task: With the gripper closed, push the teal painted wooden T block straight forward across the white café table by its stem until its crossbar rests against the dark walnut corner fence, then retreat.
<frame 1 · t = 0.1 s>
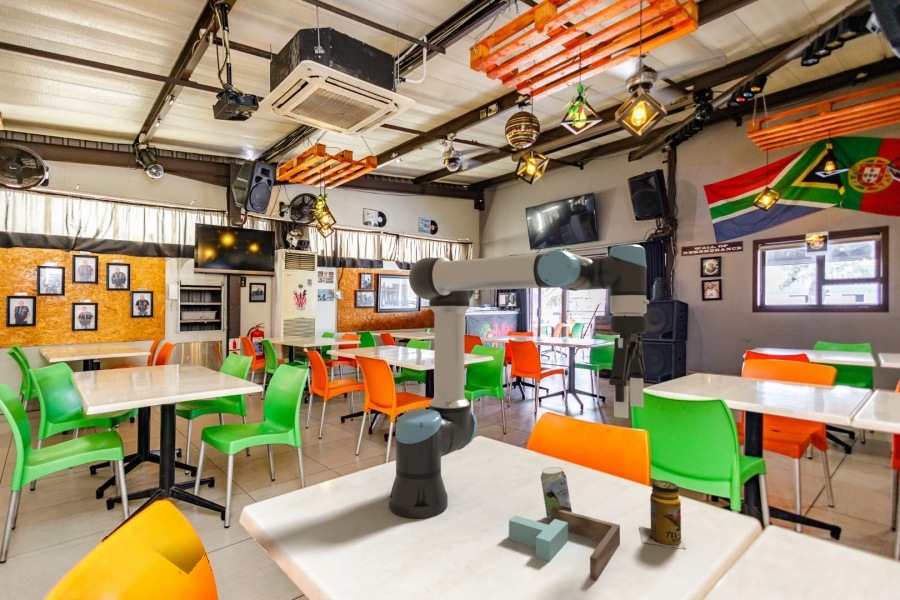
hand: (629, 411, 99), 28 cm above the table, fingers open, 13 cm apart
corner fence: (573, 555, 92), on the table
t block: (537, 543, 96), on the table
condiment: (661, 539, 99), on the table
beverage can: (556, 520, 107), on the table
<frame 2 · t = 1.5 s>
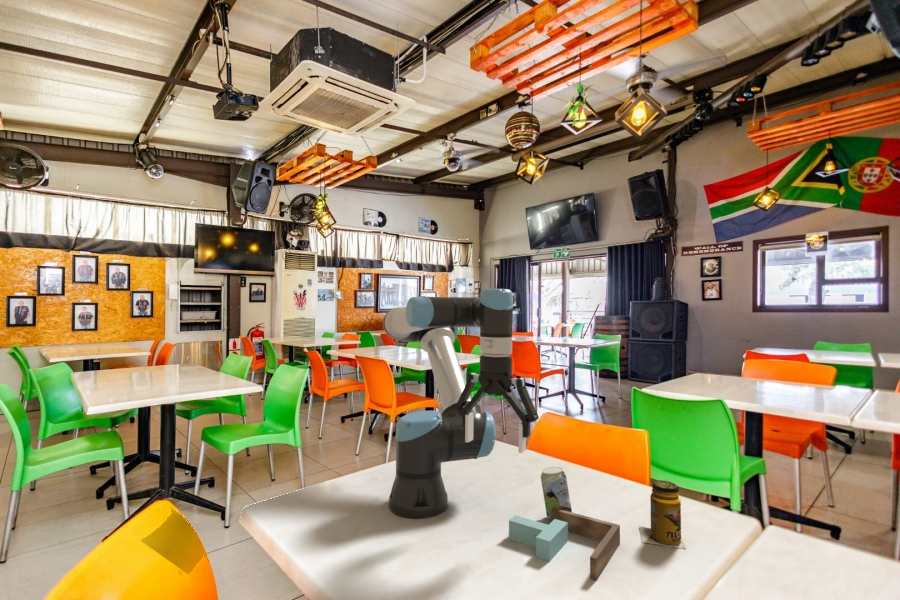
hand: (494, 446, 104), 19 cm above the table, fingers open, 13 cm apart
nothing on the table moved.
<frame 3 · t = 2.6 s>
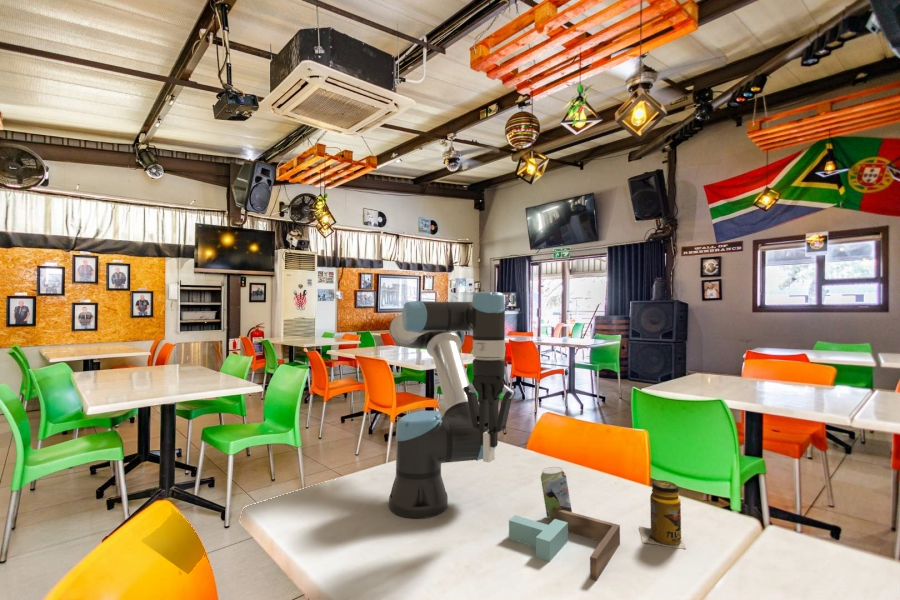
hand: (488, 460, 103), 16 cm above the table, fingers closed
nothing on the table moved.
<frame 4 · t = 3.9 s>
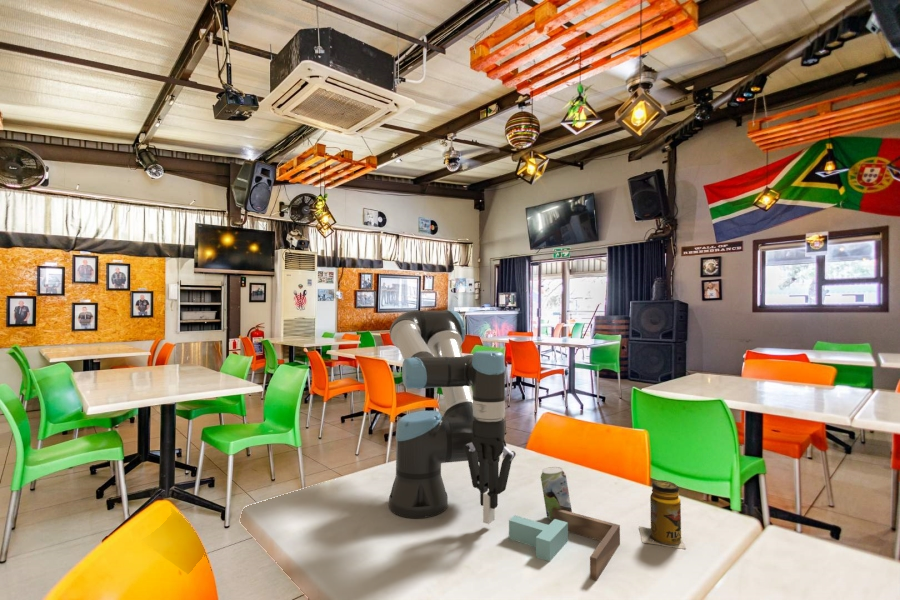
hand: (488, 520, 103), 2 cm above the table, fingers closed
nothing on the table moved.
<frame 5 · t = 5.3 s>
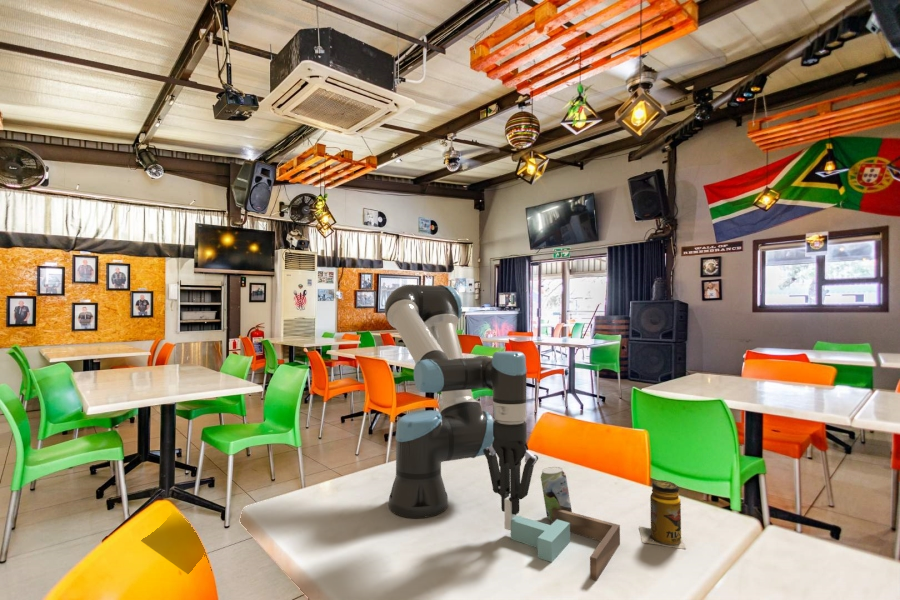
hand: (510, 527, 100), 2 cm above the table, fingers closed
t block: (539, 544, 96), on the table, touching gripper
everything else where it was.
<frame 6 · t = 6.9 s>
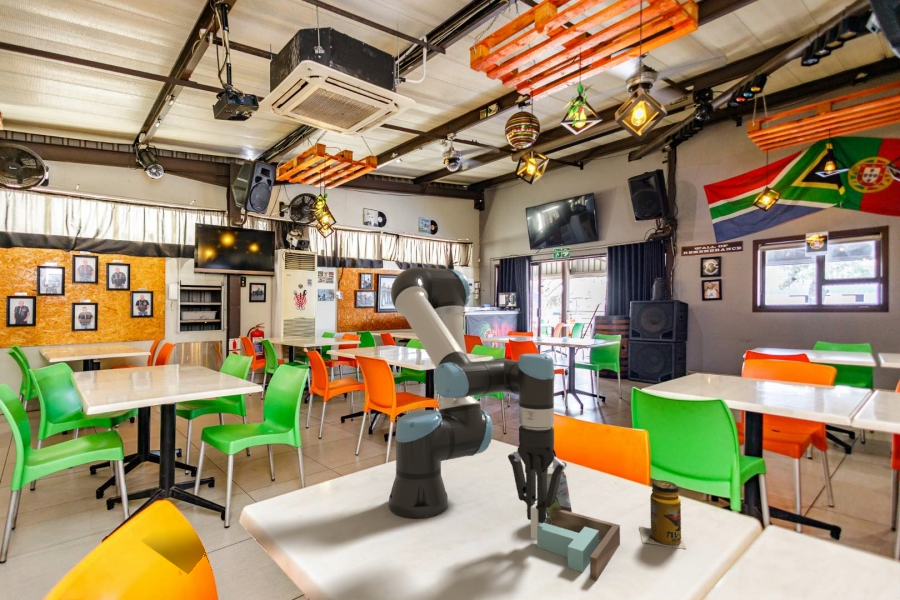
hand: (536, 535, 96), 2 cm above the table, fingers closed
t block: (567, 552, 92), on the table, touching gripper
everything else where it was.
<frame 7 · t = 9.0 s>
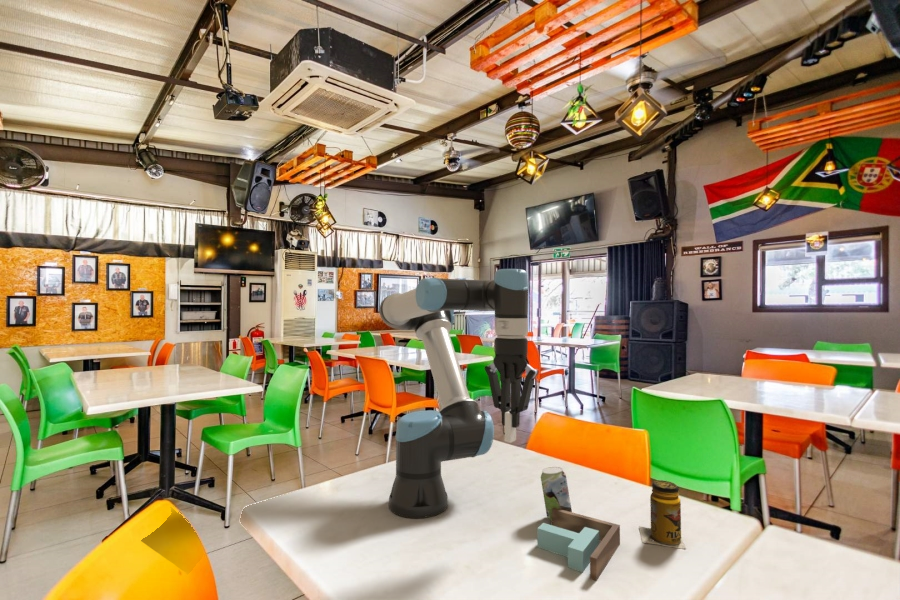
hand: (510, 440, 101), 21 cm above the table, fingers closed
t block: (567, 553, 92), on the table
everything else where it was.
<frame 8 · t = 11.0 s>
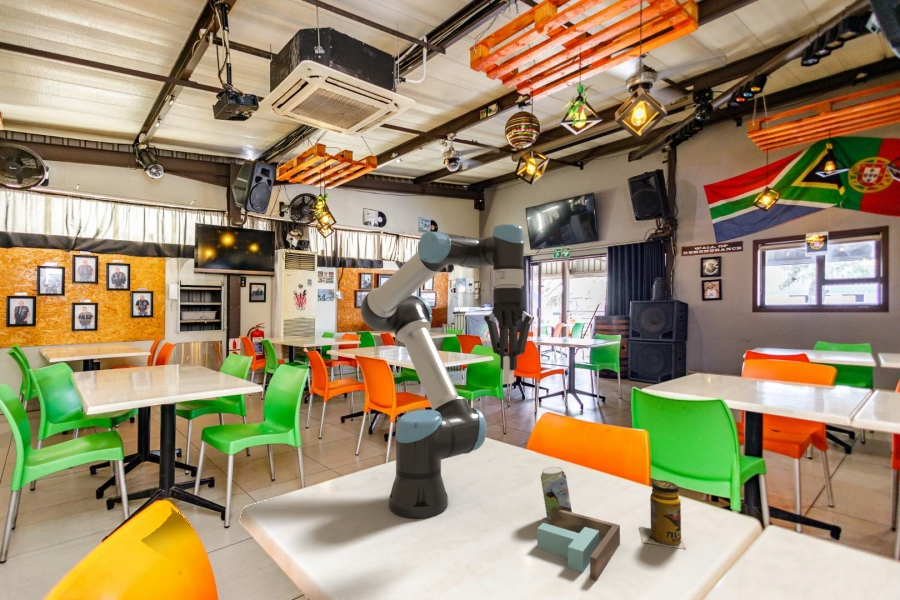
hand: (508, 383, 110), 32 cm above the table, fingers closed
nothing on the table moved.
at the end: t block inside the target area (2.0 cm from its centre), on the table; t block tilted 0°; t block moved 6.7 cm from its start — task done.
